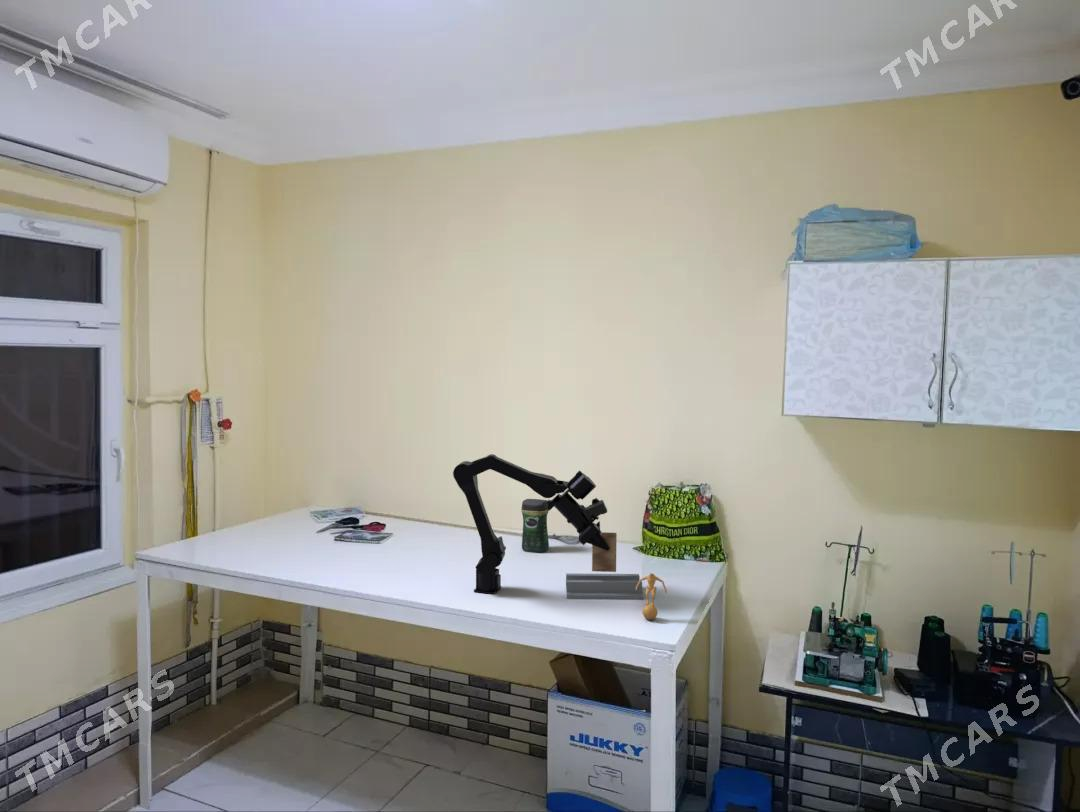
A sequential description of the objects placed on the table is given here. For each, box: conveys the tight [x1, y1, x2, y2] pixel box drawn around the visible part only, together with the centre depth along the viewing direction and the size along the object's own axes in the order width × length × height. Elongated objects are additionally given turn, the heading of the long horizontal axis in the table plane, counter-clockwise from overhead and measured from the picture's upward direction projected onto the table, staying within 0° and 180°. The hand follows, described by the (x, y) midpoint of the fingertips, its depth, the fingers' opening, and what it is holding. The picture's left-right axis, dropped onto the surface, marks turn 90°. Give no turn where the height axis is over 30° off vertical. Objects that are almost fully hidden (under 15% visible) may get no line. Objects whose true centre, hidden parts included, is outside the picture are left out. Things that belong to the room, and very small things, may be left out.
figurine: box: [635, 572, 667, 621], centre depth 191 cm, size 8×6×12 cm
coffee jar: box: [520, 498, 550, 553], centre depth 260 cm, size 10×8×19 cm
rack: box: [565, 572, 644, 600], centre depth 214 cm, size 22×14×4 cm, turn 89°
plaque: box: [591, 531, 618, 573], centre depth 211 cm, size 7×2×11 cm, turn 86°
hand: (608, 548), depth 211 cm, fingers closed on plaque, 2 cm apart
